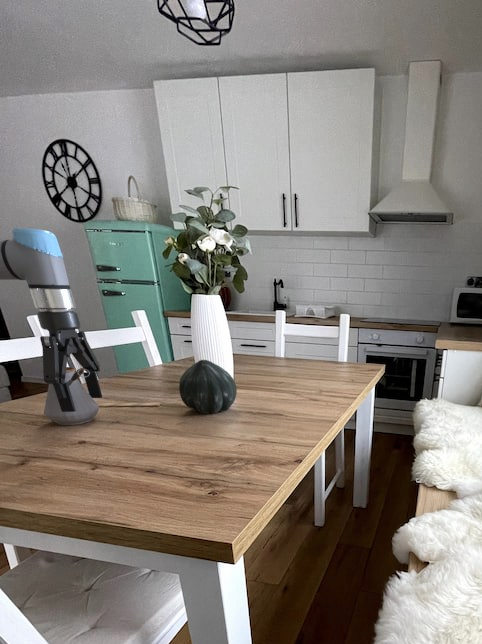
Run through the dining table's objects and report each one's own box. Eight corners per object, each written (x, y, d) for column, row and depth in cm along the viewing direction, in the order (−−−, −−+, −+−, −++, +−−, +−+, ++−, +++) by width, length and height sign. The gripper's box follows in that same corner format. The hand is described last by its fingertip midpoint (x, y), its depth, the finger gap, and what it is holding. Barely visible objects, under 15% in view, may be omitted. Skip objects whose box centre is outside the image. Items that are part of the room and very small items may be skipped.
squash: (215, 381, 120) (183, 346, 107) (253, 389, 115) (225, 353, 101) (192, 420, 116) (155, 388, 103) (230, 430, 110) (197, 398, 97)
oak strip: (69, 407, 111) (68, 405, 111) (74, 404, 114) (74, 403, 114) (158, 406, 114) (157, 405, 114) (161, 403, 117) (161, 402, 116)
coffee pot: (40, 421, 99) (20, 359, 93) (91, 411, 107) (75, 355, 101) (73, 440, 87) (51, 371, 81) (127, 428, 96) (111, 365, 89)
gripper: (68, 307, 99) (91, 392, 108) (-1, 312, 77) (36, 418, 86) (100, 308, 100) (120, 392, 109) (41, 313, 78) (72, 418, 87)
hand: (83, 404), depth 98 cm, fingers open, 12 cm apart
